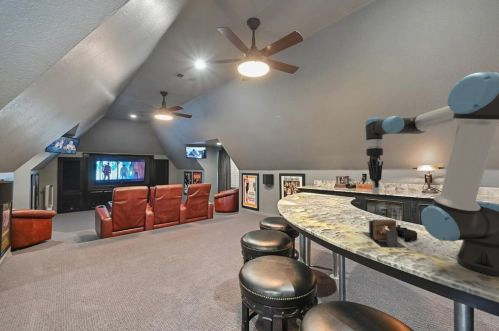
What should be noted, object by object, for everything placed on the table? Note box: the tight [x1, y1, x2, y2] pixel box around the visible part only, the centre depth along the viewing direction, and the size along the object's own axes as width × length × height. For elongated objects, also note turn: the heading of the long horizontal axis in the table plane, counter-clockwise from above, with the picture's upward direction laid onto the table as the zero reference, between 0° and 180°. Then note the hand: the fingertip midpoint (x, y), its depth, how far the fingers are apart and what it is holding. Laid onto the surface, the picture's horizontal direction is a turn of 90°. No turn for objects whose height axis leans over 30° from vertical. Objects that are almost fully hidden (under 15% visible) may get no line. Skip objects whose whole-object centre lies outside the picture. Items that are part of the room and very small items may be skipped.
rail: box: [362, 219, 406, 249], centre depth 108 cm, size 21×10×7 cm, turn 173°
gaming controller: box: [396, 224, 418, 243], centre depth 111 cm, size 14×6×10 cm
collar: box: [372, 219, 397, 240], centre depth 105 cm, size 3×9×9 cm, turn 83°
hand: (375, 193), depth 113 cm, fingers closed
